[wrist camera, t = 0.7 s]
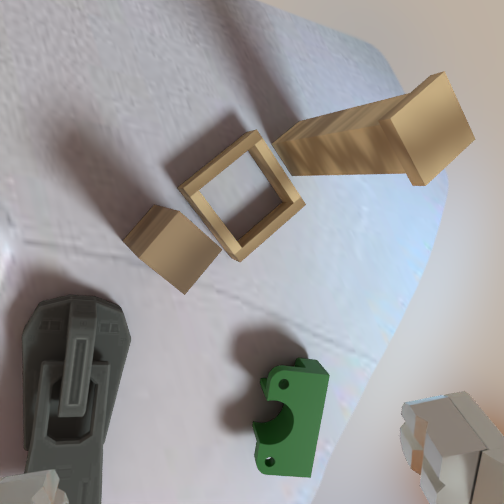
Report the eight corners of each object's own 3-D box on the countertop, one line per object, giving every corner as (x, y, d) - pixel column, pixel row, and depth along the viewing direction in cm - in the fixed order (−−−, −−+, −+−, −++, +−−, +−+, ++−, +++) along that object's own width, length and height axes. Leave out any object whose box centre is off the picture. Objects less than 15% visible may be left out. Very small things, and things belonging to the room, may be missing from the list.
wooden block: (122, 240, 41) (138, 258, 32) (154, 204, 42) (179, 211, 33) (159, 270, 43) (184, 294, 34) (189, 235, 44) (222, 249, 34)
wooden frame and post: (176, 187, 42) (256, 192, 25) (290, 96, 46) (432, 44, 28) (231, 258, 46) (335, 306, 28) (334, 168, 49) (485, 162, 31)
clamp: (255, 356, 53) (274, 351, 45) (303, 361, 54) (330, 357, 46) (245, 466, 50) (264, 482, 41) (297, 469, 51) (325, 486, 42)
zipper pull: (-14, 619, 35) (21, 311, 33) (-2, 554, 41) (28, 291, 39) (104, 596, 39) (144, 317, 36) (99, 540, 45) (132, 298, 42)
